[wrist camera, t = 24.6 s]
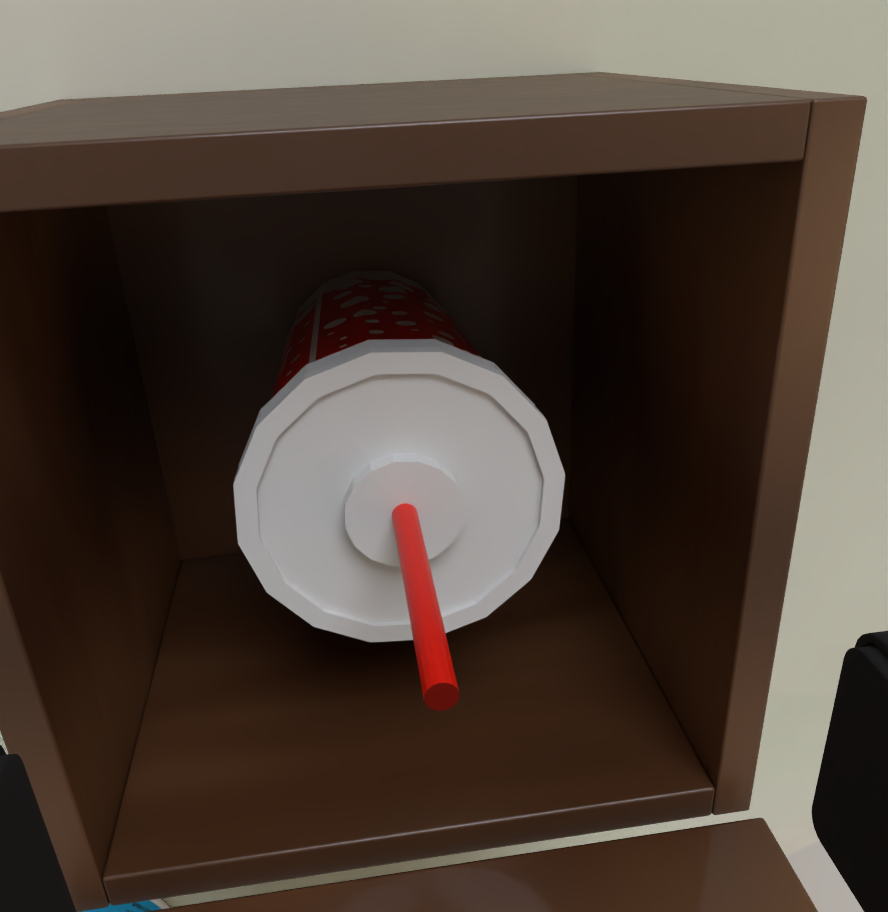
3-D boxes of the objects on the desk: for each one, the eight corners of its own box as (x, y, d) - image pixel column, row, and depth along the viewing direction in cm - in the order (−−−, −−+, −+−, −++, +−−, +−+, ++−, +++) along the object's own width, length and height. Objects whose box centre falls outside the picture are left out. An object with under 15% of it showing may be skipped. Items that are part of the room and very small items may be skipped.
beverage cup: (343, 487, 25) (375, 920, 13) (211, 322, 23) (90, 666, 10) (518, 377, 24) (735, 723, 12) (404, 193, 22) (531, 391, 9)
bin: (57, 99, 20) (-211, 157, 10) (601, 72, 22) (869, 95, 11) (163, 569, 26) (66, 914, 16) (584, 523, 28) (749, 810, 17)
